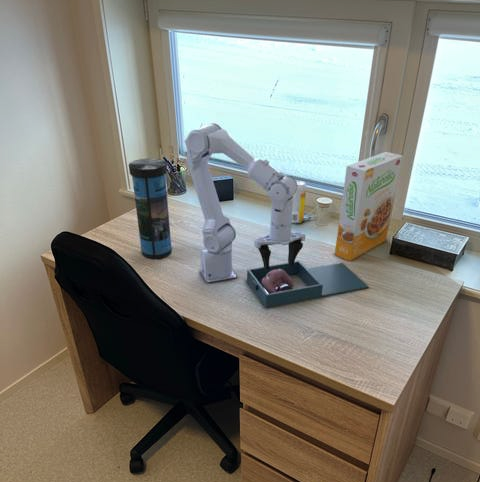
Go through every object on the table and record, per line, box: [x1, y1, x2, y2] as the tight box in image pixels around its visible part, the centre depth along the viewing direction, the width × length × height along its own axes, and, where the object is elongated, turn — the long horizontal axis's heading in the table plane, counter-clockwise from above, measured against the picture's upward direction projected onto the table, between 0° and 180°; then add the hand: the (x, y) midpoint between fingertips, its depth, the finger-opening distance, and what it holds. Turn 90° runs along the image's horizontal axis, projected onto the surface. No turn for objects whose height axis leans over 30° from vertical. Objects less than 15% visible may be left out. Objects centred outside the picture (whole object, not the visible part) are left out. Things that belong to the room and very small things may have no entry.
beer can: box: [292, 180, 307, 224], centre depth 175 cm, size 6×6×15 cm
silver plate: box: [258, 280, 293, 294], centre depth 137 cm, size 9×12×1 cm
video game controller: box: [261, 269, 294, 294], centre depth 136 cm, size 10×5×7 cm, turn 141°
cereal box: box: [334, 151, 404, 262], centre depth 153 cm, size 22×6×30 cm, turn 135°
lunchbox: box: [246, 260, 369, 309], centre depth 139 cm, size 34×15×4 cm, turn 110°
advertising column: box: [128, 158, 173, 260], centre depth 148 cm, size 11×11×30 cm
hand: (278, 266), depth 132 cm, fingers open, 7 cm apart
